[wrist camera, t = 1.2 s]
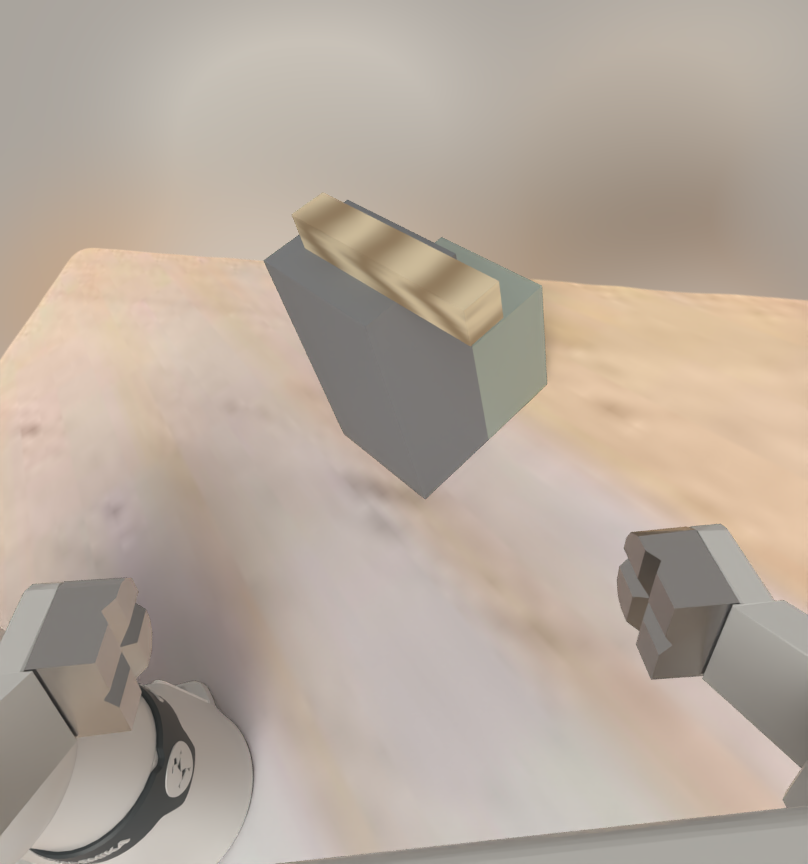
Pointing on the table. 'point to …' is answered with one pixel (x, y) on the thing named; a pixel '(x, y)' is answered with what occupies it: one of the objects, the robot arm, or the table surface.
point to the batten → (401, 268)
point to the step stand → (412, 362)
